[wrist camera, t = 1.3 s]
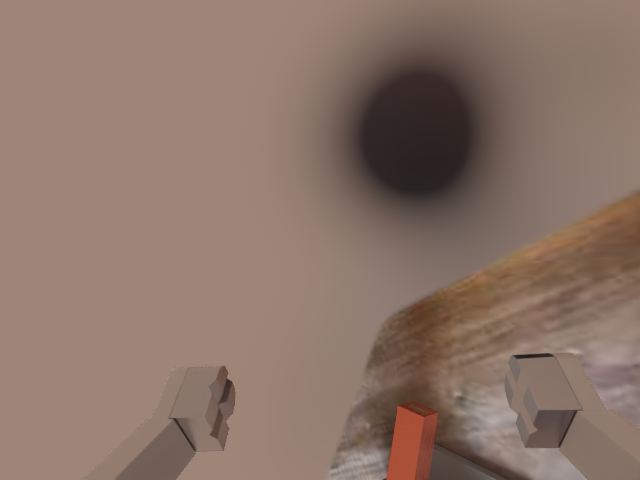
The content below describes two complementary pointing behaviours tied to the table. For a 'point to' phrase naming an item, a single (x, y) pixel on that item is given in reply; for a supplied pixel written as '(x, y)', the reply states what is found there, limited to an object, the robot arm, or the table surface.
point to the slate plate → (457, 467)
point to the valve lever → (412, 443)
